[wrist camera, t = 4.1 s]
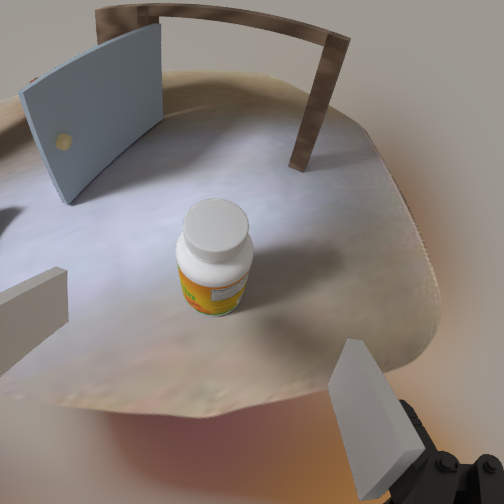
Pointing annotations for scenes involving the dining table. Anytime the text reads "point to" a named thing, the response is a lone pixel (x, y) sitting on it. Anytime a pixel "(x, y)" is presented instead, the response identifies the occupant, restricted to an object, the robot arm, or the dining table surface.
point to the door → (95, 107)
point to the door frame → (335, 45)
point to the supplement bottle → (214, 256)
